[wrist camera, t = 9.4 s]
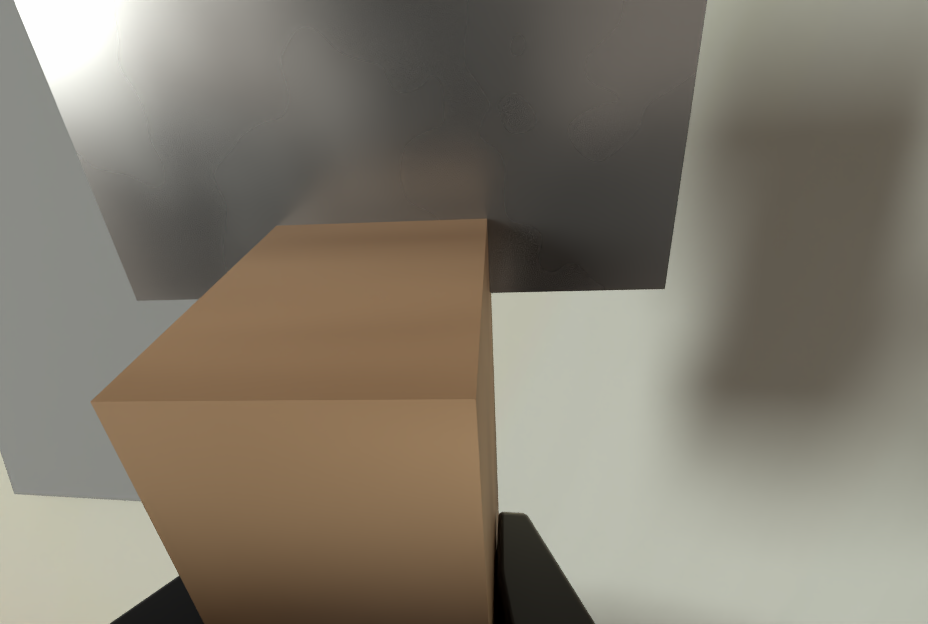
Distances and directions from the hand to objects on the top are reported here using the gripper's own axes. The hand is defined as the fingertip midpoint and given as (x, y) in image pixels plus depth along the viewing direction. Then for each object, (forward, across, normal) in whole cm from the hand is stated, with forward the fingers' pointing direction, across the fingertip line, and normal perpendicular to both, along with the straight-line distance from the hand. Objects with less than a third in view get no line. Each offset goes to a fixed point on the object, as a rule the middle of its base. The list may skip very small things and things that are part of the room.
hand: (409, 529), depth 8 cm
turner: (+1, 0, -3) cm, 3 cm away
